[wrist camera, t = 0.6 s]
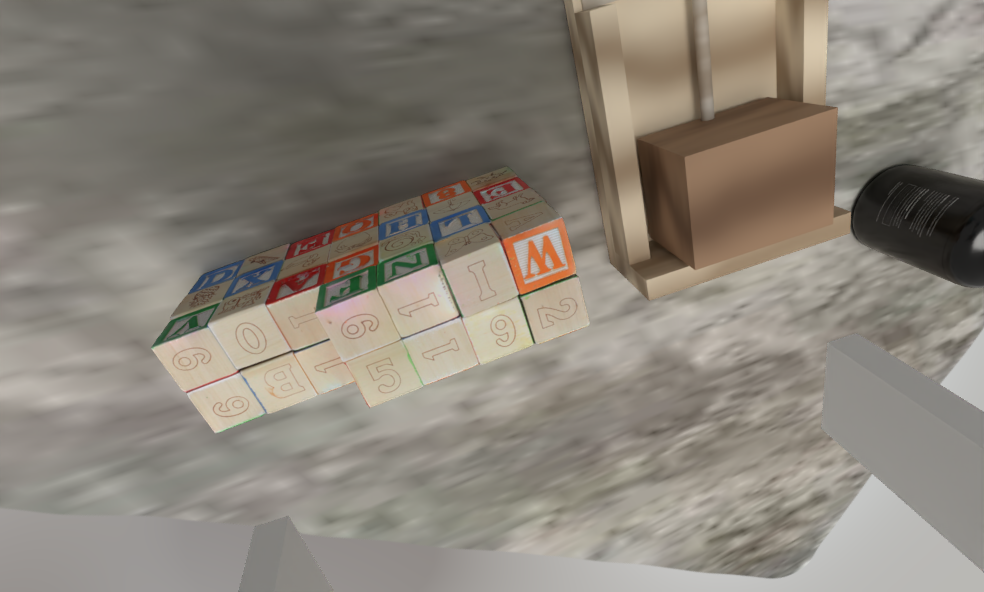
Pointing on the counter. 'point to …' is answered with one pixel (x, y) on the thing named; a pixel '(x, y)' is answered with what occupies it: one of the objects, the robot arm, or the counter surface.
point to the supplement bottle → (926, 221)
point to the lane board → (684, 105)
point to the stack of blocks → (378, 303)
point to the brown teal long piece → (738, 171)
